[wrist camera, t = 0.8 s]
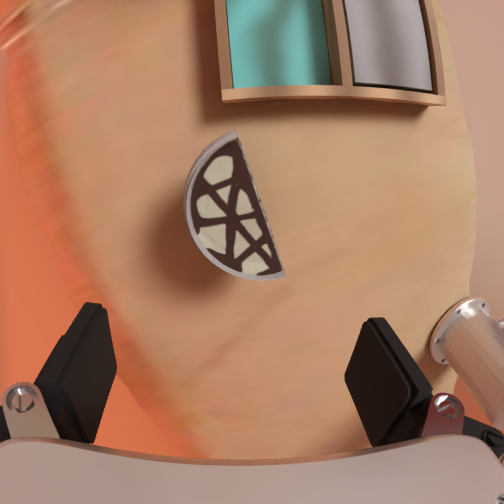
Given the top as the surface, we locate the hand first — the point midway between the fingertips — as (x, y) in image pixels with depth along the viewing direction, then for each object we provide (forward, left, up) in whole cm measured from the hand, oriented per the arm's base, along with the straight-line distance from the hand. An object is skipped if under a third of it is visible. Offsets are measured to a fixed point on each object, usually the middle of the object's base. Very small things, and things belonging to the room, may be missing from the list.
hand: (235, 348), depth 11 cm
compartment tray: (-11, -19, -23) cm, 32 cm away
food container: (+1, -1, -24) cm, 24 cm away
